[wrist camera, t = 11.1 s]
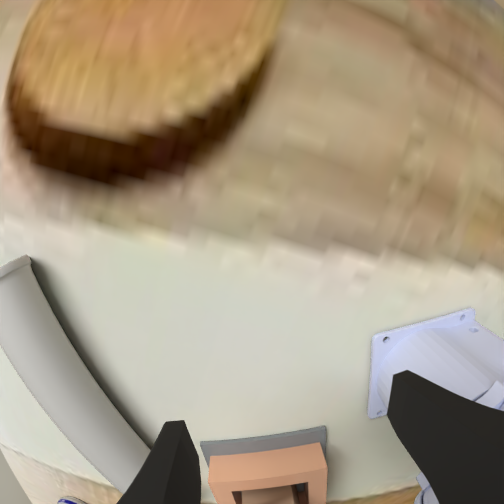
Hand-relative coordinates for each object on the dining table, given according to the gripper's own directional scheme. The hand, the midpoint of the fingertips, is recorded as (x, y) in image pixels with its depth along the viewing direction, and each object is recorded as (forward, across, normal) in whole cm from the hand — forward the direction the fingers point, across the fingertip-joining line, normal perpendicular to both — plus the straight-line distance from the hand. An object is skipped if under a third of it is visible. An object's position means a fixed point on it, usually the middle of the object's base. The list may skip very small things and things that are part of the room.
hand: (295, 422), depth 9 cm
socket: (+10, +1, +18) cm, 20 cm away
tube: (+12, +13, +7) cm, 19 cm away
